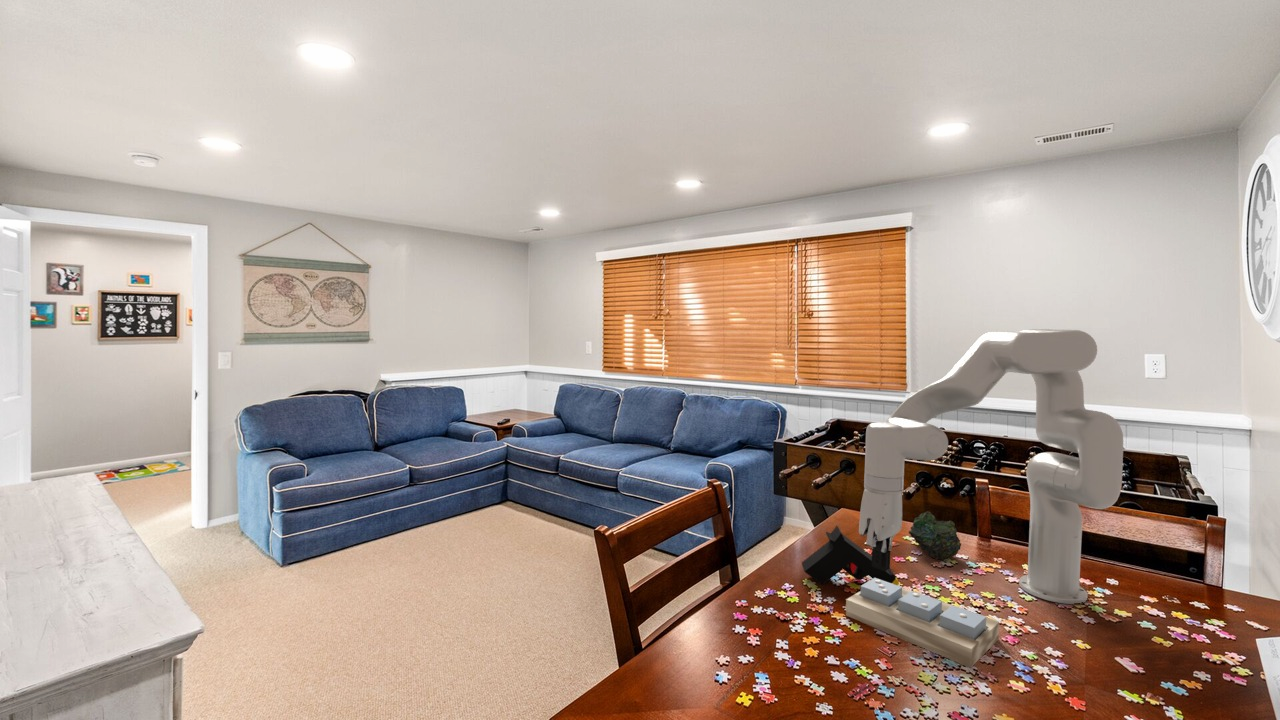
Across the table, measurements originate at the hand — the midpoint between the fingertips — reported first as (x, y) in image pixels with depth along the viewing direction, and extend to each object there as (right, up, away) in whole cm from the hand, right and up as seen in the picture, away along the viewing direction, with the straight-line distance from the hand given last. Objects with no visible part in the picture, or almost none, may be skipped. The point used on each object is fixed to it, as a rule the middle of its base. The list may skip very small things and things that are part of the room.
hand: (880, 567), depth 121 cm
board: (+6, -10, -5) cm, 13 cm away
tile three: (0, -7, +1) cm, 7 cm away
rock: (+26, -8, +32) cm, 42 cm away
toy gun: (-1, -9, +15) cm, 18 cm away
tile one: (+11, -7, -12) cm, 17 cm away
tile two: (+6, -7, -6) cm, 10 cm away
